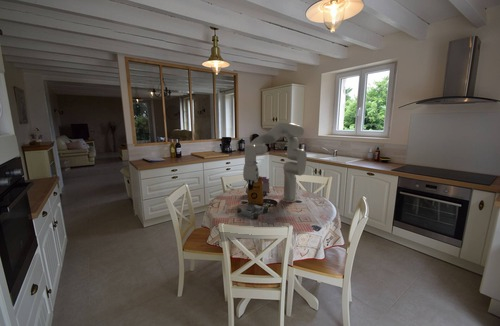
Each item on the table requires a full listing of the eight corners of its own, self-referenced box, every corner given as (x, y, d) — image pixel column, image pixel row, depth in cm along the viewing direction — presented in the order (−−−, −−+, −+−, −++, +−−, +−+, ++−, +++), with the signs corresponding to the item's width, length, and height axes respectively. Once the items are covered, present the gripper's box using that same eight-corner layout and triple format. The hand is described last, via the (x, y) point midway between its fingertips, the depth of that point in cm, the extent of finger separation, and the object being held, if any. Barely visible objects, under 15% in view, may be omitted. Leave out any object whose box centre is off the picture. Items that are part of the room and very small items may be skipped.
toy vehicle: (245, 194, 195) (245, 177, 192) (266, 192, 201) (266, 176, 198) (248, 197, 187) (248, 180, 184) (269, 195, 192) (270, 178, 189)
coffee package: (261, 206, 169) (261, 178, 164) (245, 204, 172) (245, 176, 168) (264, 201, 178) (265, 174, 174) (249, 199, 182) (249, 173, 177)
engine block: (250, 210, 157) (250, 203, 156) (255, 212, 155) (255, 205, 154) (245, 213, 153) (245, 206, 152) (250, 215, 150) (250, 208, 149)
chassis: (251, 206, 168) (251, 201, 167) (268, 211, 159) (268, 205, 158) (236, 214, 153) (236, 209, 153) (254, 220, 145) (254, 214, 144)
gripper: (263, 163, 146) (263, 189, 149) (244, 160, 154) (245, 186, 158) (256, 165, 140) (257, 193, 143) (238, 162, 148) (238, 189, 152)
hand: (250, 189), depth 151 cm, fingers closed
